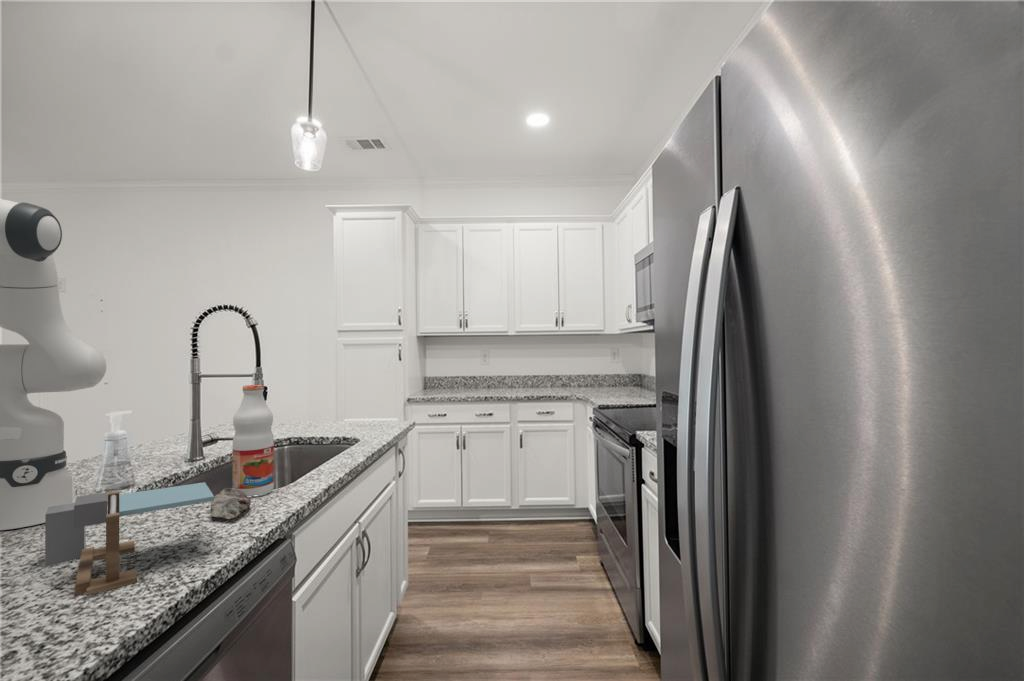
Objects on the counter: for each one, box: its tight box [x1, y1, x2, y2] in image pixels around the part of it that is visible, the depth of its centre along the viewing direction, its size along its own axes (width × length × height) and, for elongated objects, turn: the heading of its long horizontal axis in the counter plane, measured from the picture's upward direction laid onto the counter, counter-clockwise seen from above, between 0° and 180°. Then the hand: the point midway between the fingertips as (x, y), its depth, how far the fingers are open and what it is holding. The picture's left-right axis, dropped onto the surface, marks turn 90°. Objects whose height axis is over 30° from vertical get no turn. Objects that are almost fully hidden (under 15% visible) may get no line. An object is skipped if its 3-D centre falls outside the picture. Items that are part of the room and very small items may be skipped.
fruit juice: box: [231, 384, 275, 499], centre depth 121 cm, size 9×9×28 cm
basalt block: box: [44, 503, 87, 567], centre depth 84 cm, size 5×5×9 cm
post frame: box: [74, 490, 138, 596], centre depth 79 cm, size 19×7×11 cm, turn 40°
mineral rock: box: [209, 487, 252, 520], centre depth 106 cm, size 15×8×4 cm, turn 15°
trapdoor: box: [73, 481, 215, 528], centre depth 83 cm, size 13×19×4 cm
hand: (4, 435), depth 77 cm, fingers open, 8 cm apart
